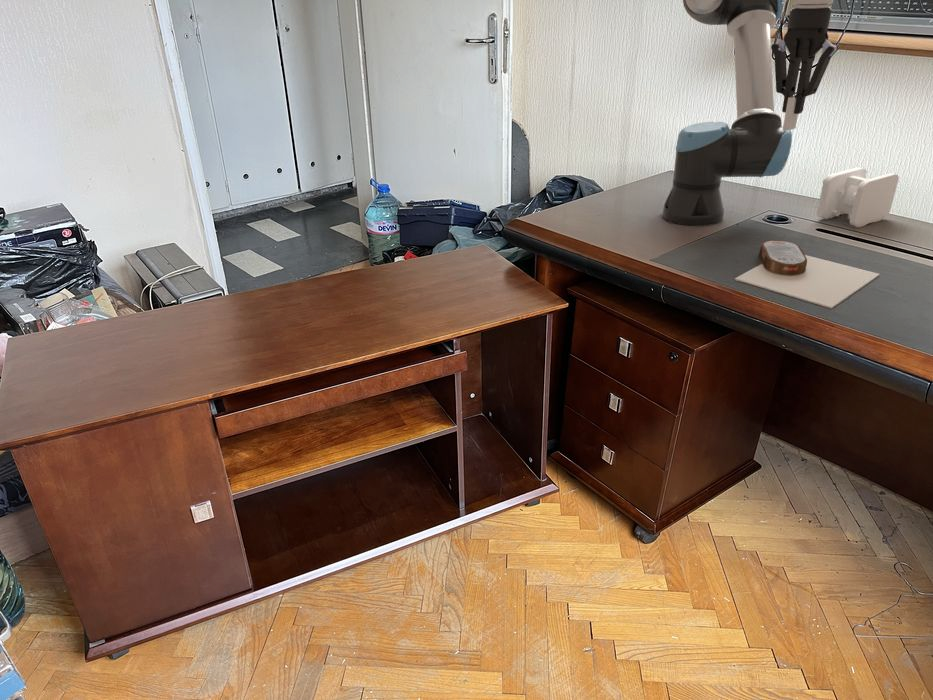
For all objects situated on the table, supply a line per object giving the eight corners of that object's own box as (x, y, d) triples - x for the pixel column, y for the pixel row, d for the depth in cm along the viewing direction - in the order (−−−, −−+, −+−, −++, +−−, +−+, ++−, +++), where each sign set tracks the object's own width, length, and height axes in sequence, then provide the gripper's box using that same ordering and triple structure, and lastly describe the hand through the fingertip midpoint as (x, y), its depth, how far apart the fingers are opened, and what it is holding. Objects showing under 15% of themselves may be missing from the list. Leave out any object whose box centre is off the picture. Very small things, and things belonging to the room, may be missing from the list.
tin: (767, 274, 144) (809, 279, 143) (771, 260, 143) (813, 265, 141) (755, 249, 157) (794, 252, 156) (758, 236, 155) (797, 239, 154)
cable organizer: (851, 231, 165) (863, 183, 160) (812, 220, 173) (822, 174, 168) (889, 219, 171) (901, 173, 166) (849, 208, 180) (860, 164, 174)
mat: (734, 279, 144) (734, 278, 143) (786, 251, 156) (786, 250, 156) (831, 308, 130) (831, 307, 130) (879, 275, 142) (879, 274, 142)
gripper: (770, 7, 137) (751, 128, 149) (836, 7, 129) (810, 136, 140) (788, 4, 142) (768, 122, 153) (853, 5, 133) (827, 129, 144)
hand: (789, 128), depth 147 cm, fingers closed
